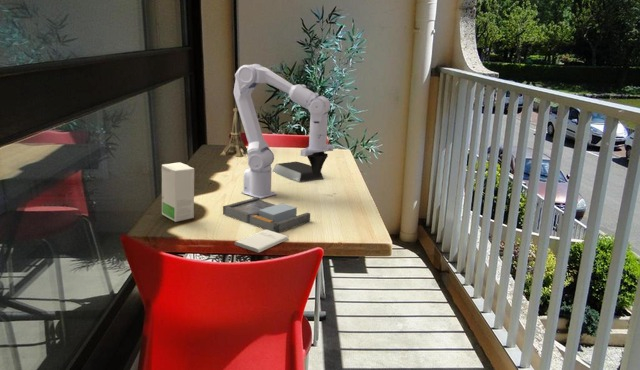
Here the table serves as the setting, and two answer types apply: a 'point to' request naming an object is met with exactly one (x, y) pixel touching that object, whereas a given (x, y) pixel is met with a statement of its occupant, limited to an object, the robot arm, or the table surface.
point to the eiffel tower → (235, 135)
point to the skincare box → (177, 191)
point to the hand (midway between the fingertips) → (316, 174)
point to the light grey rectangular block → (278, 212)
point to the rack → (250, 214)
